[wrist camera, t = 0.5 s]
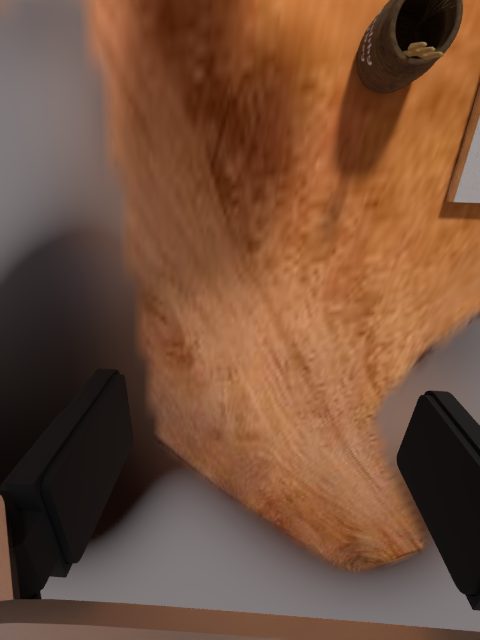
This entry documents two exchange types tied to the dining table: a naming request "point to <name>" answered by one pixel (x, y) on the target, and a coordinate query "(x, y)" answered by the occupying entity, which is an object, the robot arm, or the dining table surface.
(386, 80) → the utensil holder
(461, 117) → the dining table surface
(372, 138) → the dining table surface
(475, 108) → the collar stand
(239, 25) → the dining table surface
